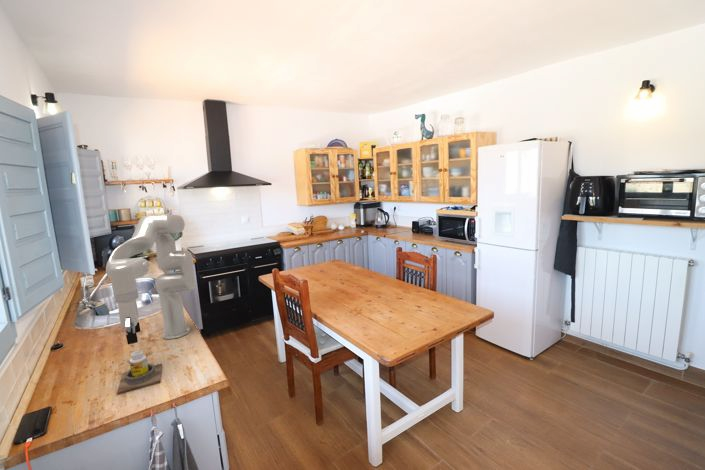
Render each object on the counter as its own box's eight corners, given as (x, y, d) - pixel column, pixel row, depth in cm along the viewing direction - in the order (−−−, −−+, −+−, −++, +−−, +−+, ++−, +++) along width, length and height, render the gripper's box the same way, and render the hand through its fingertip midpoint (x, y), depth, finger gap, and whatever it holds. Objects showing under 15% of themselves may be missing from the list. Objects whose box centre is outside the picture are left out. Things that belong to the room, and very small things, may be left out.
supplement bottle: (129, 380, 131) (124, 356, 129) (140, 372, 137) (136, 349, 135) (142, 381, 130) (137, 356, 128) (152, 372, 136) (148, 349, 134)
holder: (123, 375, 137) (121, 367, 136) (162, 365, 143) (161, 358, 142) (117, 394, 124) (115, 386, 124) (160, 382, 130) (159, 374, 130)
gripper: (118, 291, 133) (126, 331, 137) (110, 306, 118) (119, 350, 122) (140, 287, 137) (147, 326, 140) (135, 301, 121) (143, 344, 125)
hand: (134, 337), depth 131 cm, fingers open, 9 cm apart
